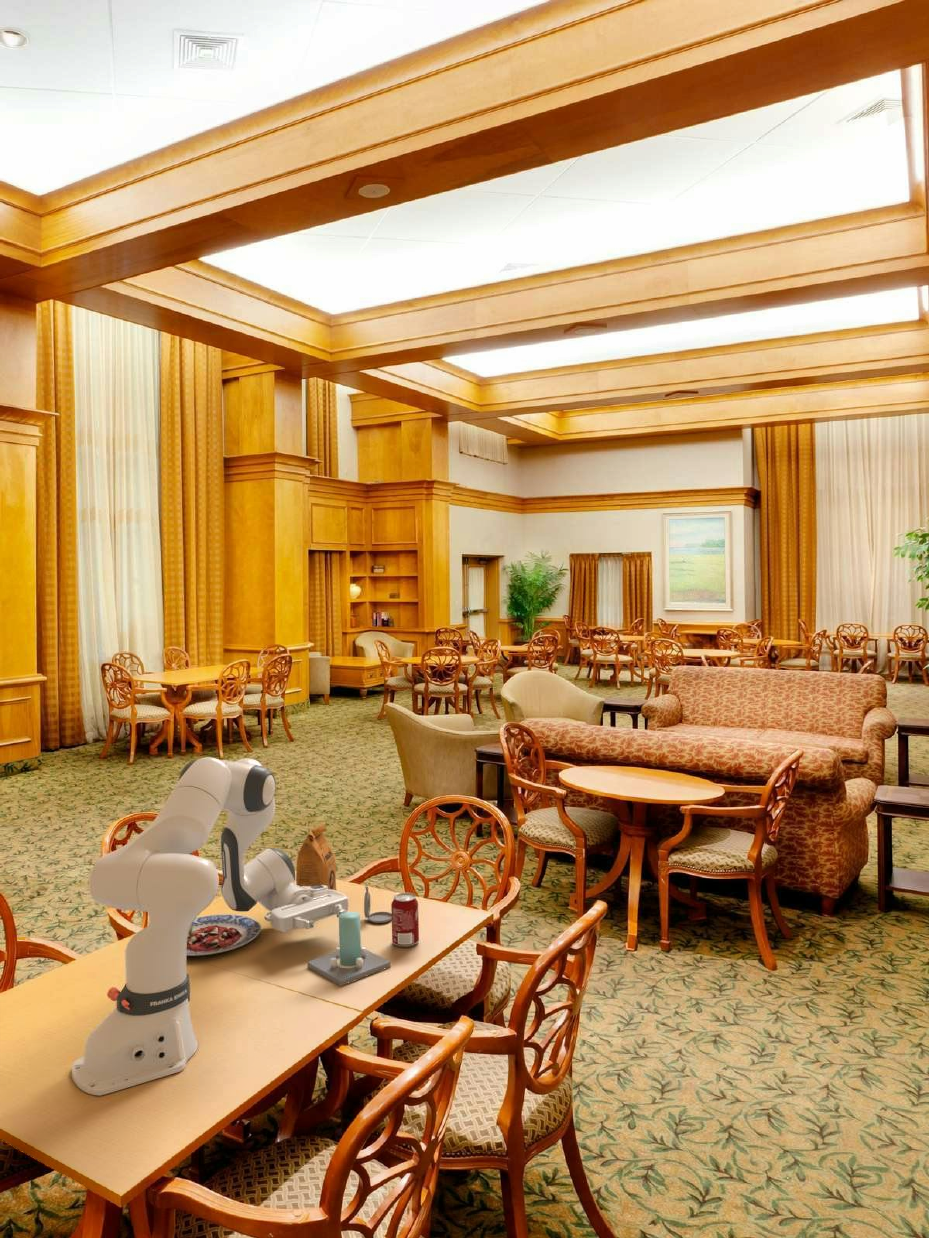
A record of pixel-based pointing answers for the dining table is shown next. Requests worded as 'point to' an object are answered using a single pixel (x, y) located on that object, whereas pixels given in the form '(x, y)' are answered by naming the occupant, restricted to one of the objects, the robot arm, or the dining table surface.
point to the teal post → (349, 938)
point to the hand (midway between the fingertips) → (327, 919)
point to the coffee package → (316, 861)
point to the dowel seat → (344, 974)
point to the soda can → (405, 920)
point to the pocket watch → (377, 916)
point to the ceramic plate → (220, 933)
